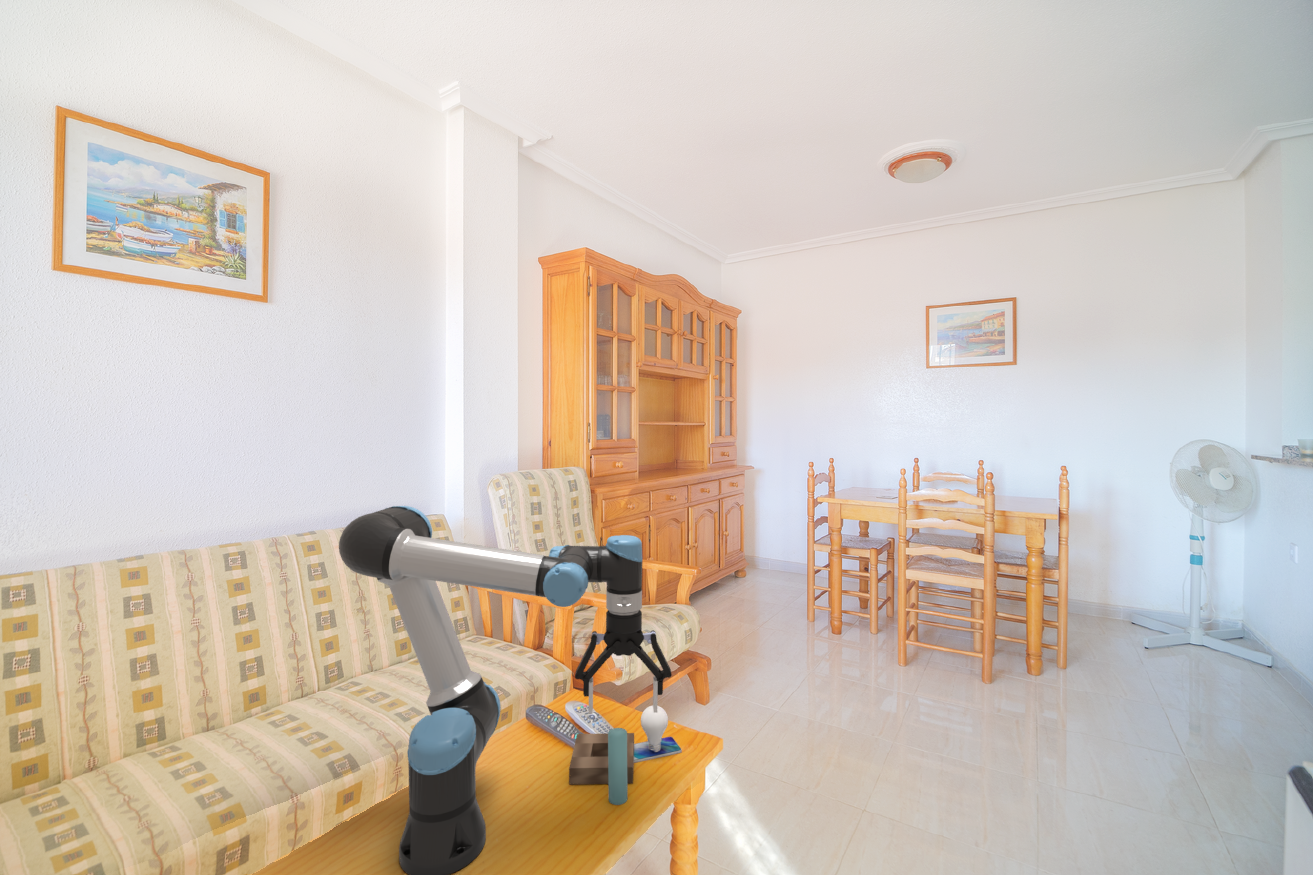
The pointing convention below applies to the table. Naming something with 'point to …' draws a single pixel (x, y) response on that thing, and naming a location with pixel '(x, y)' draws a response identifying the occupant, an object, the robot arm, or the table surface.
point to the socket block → (596, 759)
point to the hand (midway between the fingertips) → (623, 710)
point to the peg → (617, 766)
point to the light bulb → (654, 726)
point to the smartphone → (667, 748)
